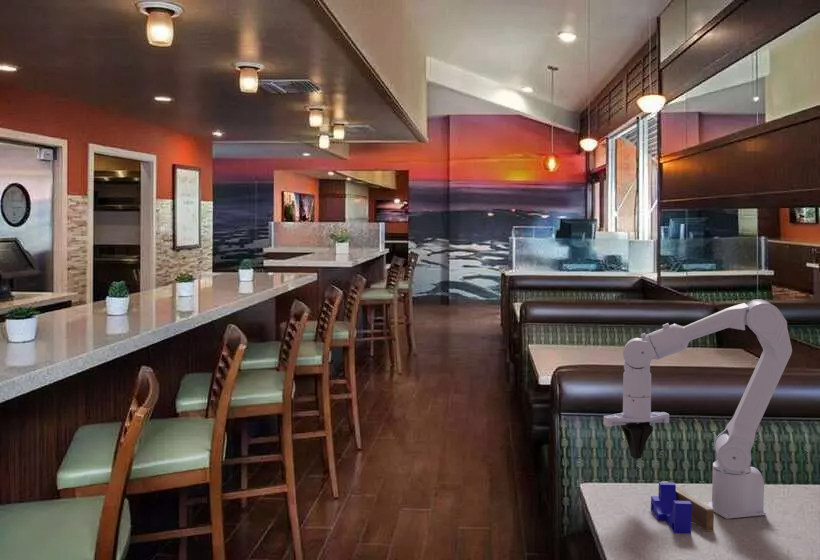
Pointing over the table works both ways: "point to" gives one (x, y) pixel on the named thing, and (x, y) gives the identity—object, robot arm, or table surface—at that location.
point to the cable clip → (672, 508)
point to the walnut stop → (698, 510)
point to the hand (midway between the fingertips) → (635, 457)
